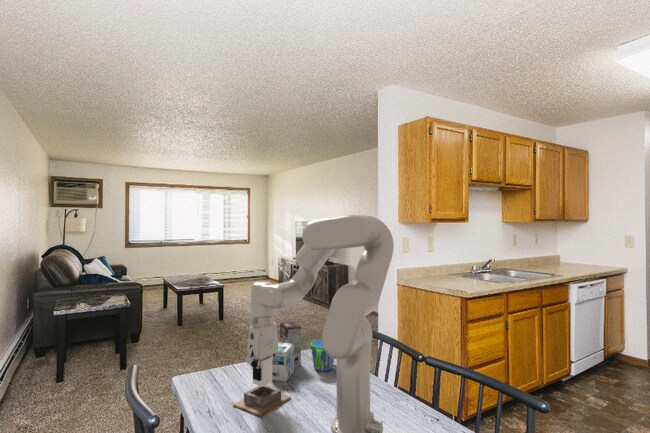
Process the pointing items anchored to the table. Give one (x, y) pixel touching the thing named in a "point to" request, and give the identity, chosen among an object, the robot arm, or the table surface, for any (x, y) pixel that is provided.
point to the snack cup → (320, 357)
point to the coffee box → (292, 338)
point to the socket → (261, 400)
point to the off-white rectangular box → (265, 372)
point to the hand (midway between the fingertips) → (262, 376)
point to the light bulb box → (283, 362)
